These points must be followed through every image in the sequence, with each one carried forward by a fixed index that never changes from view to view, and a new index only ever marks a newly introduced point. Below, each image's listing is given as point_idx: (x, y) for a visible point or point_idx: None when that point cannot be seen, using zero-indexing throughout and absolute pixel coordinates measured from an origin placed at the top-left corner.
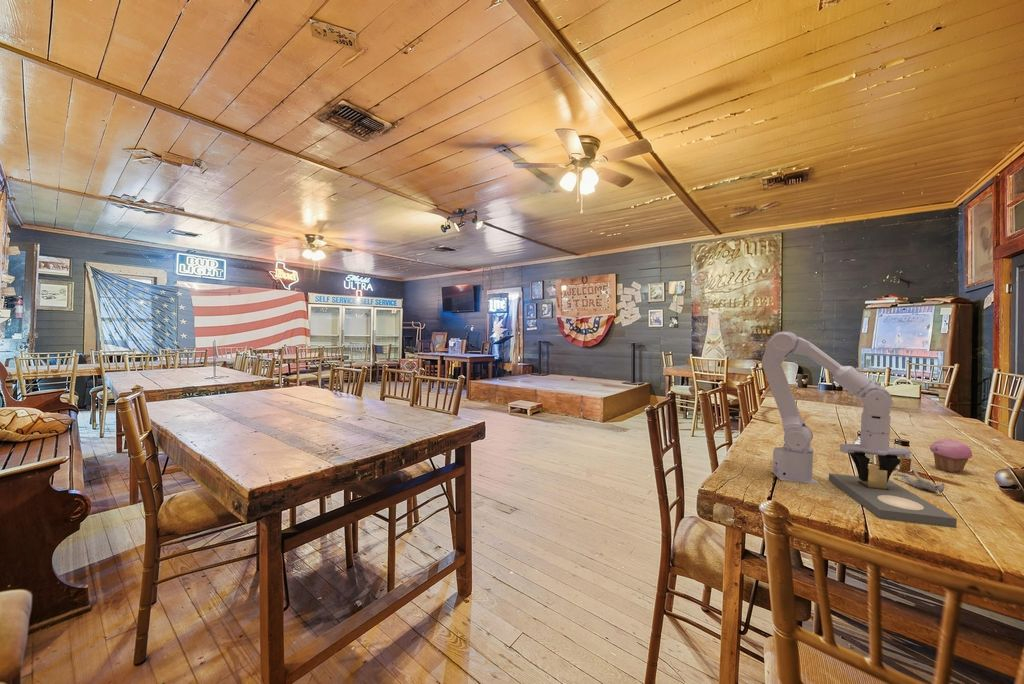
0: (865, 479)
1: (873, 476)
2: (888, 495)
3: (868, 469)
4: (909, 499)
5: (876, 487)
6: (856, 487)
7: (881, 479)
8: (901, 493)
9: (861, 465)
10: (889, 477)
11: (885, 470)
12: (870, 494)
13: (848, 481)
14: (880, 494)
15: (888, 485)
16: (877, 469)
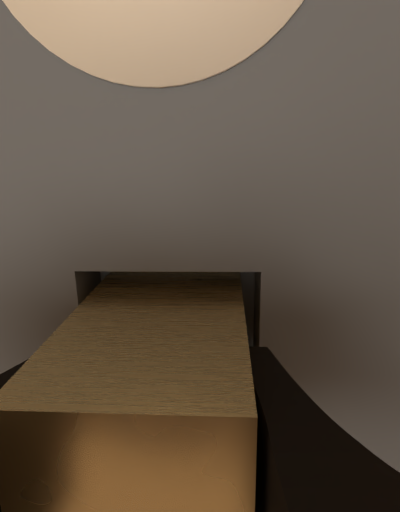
0: (256, 351)
1: (192, 346)
2: (168, 78)
3: (256, 416)
4: (2, 56)
5: (172, 291)
6: (360, 255)
7: (110, 329)
8: (8, 216)
9: (397, 471)
10: (4, 373)
11: (5, 414)
12: (335, 71)
13: (339, 401)
14: (223, 114)
15: None
16: (114, 432)
